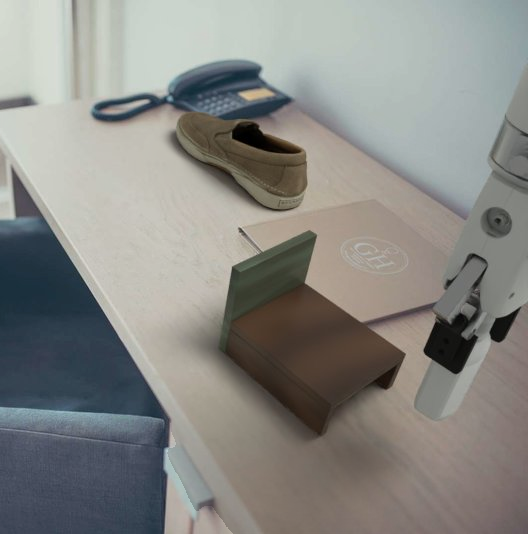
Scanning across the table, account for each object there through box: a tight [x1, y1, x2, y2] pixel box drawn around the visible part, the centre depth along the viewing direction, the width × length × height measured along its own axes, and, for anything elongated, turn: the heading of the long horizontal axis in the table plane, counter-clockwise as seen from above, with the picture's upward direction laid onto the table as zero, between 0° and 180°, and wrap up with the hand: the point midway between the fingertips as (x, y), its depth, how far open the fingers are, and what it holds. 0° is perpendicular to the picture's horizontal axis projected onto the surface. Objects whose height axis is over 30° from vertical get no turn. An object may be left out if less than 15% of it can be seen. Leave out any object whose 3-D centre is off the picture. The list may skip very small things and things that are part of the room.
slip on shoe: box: [175, 111, 308, 210], centre depth 105 cm, size 30×11×9 cm, turn 25°
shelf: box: [218, 229, 407, 437], centre depth 69 cm, size 15×12×12 cm
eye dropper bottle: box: [413, 303, 495, 422], centre depth 54 cm, size 4×6×12 cm
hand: (463, 345), depth 54 cm, fingers closed on eye dropper bottle, 5 cm apart
